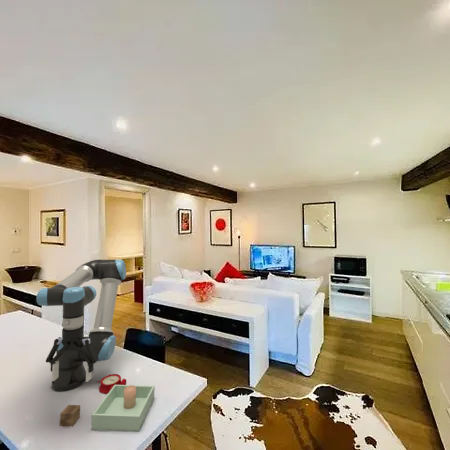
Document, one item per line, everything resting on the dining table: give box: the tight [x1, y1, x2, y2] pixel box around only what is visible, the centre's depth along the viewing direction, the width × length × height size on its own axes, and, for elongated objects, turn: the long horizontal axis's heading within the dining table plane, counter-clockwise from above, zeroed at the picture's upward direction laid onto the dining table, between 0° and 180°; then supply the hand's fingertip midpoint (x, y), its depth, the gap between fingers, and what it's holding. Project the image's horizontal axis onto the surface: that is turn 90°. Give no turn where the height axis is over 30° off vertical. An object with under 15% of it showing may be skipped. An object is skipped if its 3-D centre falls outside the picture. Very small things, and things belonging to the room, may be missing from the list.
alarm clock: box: [95, 373, 127, 395], centre depth 126 cm, size 10×6×15 cm
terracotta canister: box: [124, 384, 136, 409], centre depth 113 cm, size 5×5×7 cm
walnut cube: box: [59, 404, 81, 428], centre depth 104 cm, size 5×5×5 cm
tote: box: [90, 384, 156, 432], centre depth 109 cm, size 19×20×6 cm
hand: (71, 379), depth 104 cm, fingers open, 13 cm apart
